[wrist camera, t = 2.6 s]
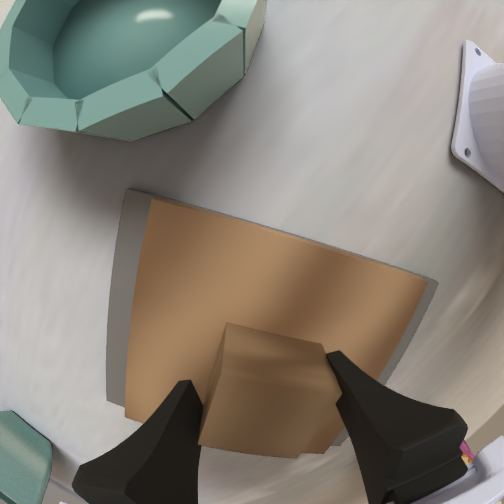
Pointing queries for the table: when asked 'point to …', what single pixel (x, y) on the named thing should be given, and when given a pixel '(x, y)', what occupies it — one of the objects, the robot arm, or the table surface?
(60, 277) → the table surface
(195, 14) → the bowl
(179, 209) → the lid
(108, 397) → the mat
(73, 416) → the table surface
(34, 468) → the flower pot
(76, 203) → the table surface
